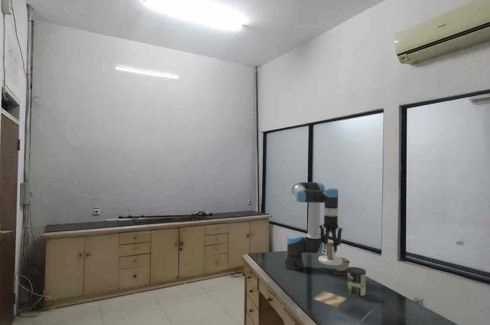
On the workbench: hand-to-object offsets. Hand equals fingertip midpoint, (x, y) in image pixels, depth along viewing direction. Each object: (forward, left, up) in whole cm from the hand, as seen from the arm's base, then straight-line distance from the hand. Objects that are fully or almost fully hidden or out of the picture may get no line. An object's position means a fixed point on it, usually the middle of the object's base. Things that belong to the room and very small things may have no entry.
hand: (330, 256), depth 161 cm
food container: (-14, +46, -25) cm, 54 cm away
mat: (0, 0, -24) cm, 24 cm away
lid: (0, 0, -3) cm, 3 cm away
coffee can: (+8, +19, -25) cm, 32 cm away
